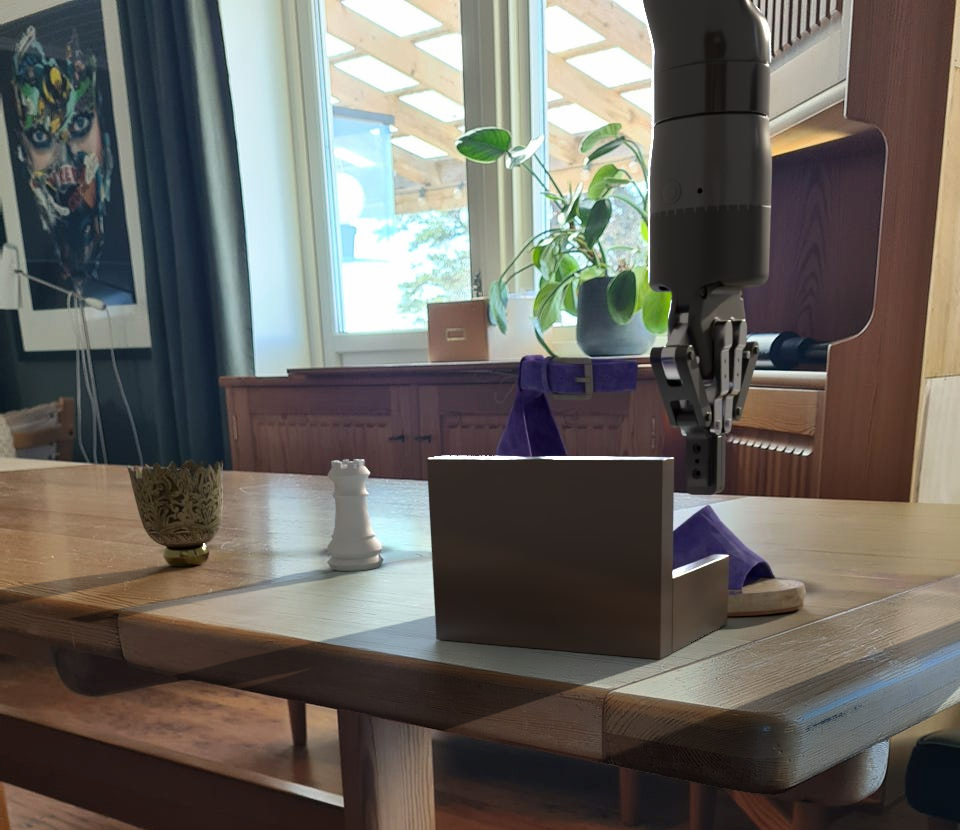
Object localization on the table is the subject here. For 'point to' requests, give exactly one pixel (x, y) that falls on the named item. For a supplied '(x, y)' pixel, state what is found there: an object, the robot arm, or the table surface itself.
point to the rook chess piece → (352, 520)
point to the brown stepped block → (566, 556)
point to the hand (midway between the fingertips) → (705, 493)
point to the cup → (180, 508)
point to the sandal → (693, 539)
